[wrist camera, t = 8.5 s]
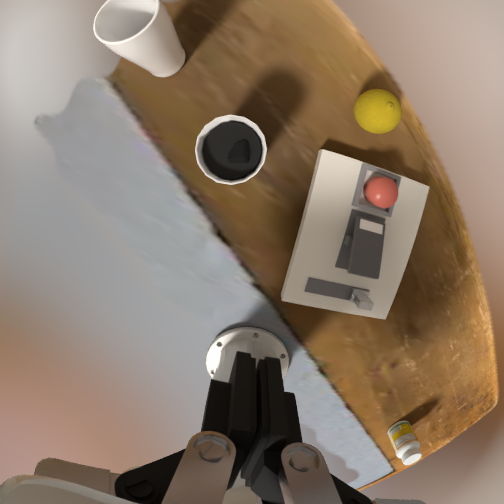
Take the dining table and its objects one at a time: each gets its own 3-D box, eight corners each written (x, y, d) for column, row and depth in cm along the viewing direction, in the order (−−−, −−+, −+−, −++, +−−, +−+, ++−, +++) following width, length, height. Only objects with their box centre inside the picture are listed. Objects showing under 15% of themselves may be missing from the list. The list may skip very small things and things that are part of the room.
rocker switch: (375, 279, 35) (379, 279, 34) (347, 273, 35) (350, 272, 34) (382, 225, 36) (385, 223, 35) (355, 217, 36) (358, 215, 35)
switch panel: (380, 313, 42) (389, 324, 39) (280, 294, 42) (283, 305, 38) (422, 185, 37) (435, 187, 34) (319, 149, 36) (325, 148, 33)
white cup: (263, 127, 35) (266, 114, 26) (263, 179, 37) (266, 184, 28) (209, 128, 35) (194, 116, 26) (210, 180, 37) (195, 185, 28)
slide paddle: (363, 303, 39) (371, 313, 36) (348, 300, 39) (355, 311, 36) (368, 291, 39) (376, 301, 36) (352, 288, 39) (360, 298, 35)
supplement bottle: (391, 422, 50) (406, 454, 41) (412, 417, 50) (428, 448, 41) (383, 437, 51) (396, 469, 42) (404, 433, 51) (418, 463, 42)
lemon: (370, 144, 36) (396, 140, 28) (338, 117, 35) (358, 106, 27) (391, 115, 34) (420, 106, 27) (360, 88, 34) (384, 72, 26)
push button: (384, 207, 36) (393, 211, 33) (359, 200, 36) (368, 203, 33) (391, 181, 35) (401, 182, 32) (366, 172, 35) (375, 173, 32)
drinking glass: (200, 47, 32) (174, -9, 18) (177, 89, 34) (135, 51, 19) (157, 34, 31) (116, -17, 17) (134, 75, 33) (79, 39, 19)
